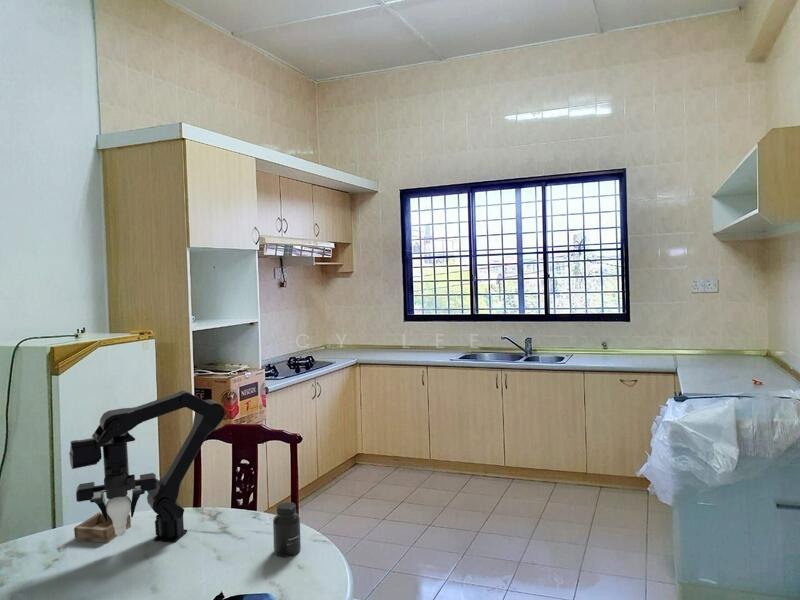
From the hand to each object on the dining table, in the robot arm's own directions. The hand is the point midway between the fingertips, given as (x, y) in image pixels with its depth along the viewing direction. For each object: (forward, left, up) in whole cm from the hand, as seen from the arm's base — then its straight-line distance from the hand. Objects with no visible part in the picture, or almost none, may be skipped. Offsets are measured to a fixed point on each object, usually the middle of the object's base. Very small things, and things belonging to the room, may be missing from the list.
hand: (119, 518), depth 162 cm
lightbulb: (0, 0, -5) cm, 5 cm away
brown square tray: (+11, -8, -8) cm, 16 cm away
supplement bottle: (-44, -6, -9) cm, 45 cm away
